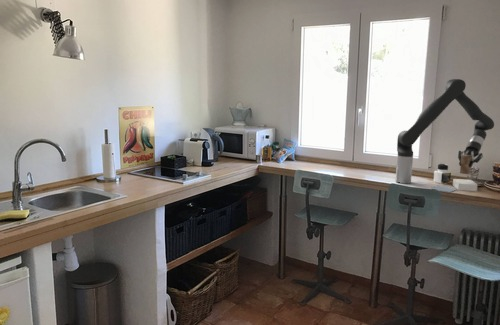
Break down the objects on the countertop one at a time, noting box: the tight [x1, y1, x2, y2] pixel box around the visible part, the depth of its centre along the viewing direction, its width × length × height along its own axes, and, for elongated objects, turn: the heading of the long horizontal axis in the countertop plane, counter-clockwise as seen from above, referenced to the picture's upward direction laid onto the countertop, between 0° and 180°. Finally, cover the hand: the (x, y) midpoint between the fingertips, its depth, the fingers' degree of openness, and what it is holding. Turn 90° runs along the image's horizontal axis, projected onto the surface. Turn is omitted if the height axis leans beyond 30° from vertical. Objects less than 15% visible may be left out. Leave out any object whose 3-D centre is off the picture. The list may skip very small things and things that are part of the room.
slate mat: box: [430, 185, 459, 193], centre depth 239 cm, size 12×12×1 cm
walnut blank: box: [459, 154, 472, 175], centre depth 240 cm, size 4×4×11 cm
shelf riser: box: [452, 178, 478, 192], centre depth 242 cm, size 10×14×4 cm
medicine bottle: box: [433, 163, 452, 185], centre depth 257 cm, size 7×7×12 cm
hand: (464, 165), depth 239 cm, fingers closed on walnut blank, 4 cm apart
